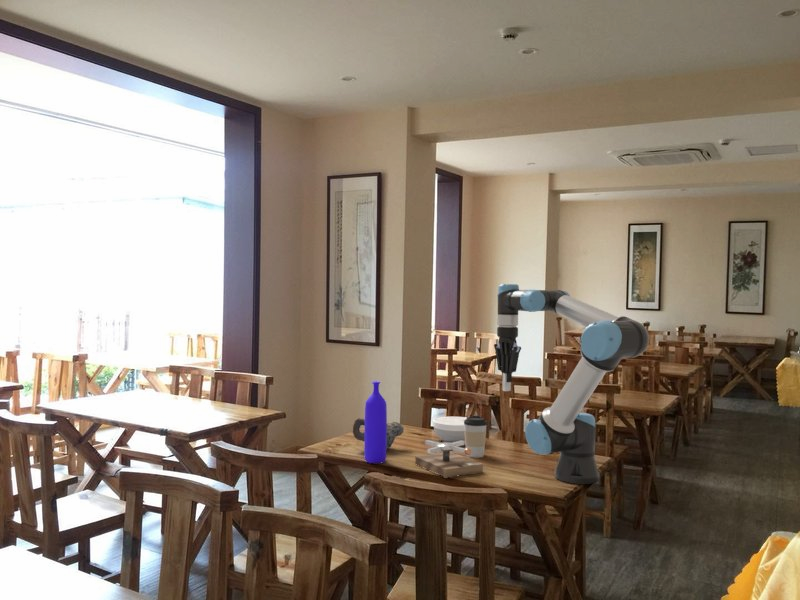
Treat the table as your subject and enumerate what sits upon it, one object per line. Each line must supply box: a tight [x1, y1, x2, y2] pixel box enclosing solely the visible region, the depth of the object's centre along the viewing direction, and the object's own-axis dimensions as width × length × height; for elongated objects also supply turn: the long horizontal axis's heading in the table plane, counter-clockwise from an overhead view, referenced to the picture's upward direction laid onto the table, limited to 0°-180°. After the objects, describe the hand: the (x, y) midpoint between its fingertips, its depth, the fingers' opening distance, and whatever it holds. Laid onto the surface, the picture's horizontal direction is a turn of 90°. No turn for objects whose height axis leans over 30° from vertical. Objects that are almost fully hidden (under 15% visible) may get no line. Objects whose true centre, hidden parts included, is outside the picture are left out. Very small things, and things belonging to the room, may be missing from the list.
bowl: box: [432, 415, 468, 444], centre depth 291 cm, size 19×19×9 cm
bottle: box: [363, 380, 388, 464], centre depth 256 cm, size 8×8×30 cm
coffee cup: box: [464, 415, 488, 458], centre depth 267 cm, size 9×9×15 cm
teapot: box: [352, 417, 405, 450], centre depth 275 cm, size 21×12×15 cm, turn 108°
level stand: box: [414, 451, 484, 479], centre depth 247 cm, size 20×16×7 cm
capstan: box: [424, 439, 471, 455], centre depth 246 cm, size 21×19×2 cm
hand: (506, 390), depth 249 cm, fingers closed
